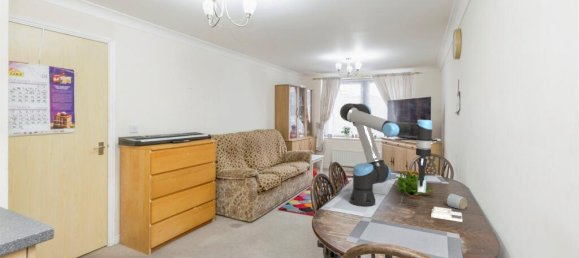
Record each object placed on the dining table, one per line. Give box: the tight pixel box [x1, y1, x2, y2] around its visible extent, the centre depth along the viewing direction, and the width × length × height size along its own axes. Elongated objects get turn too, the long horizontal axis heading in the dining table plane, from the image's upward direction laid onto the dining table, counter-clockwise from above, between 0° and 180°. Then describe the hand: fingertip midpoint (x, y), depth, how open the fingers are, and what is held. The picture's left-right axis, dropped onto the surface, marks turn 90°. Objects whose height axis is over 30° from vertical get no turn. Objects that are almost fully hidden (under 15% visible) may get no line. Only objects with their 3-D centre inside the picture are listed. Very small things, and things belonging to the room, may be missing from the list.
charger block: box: [417, 176, 428, 194], centre depth 159 cm, size 4×4×9 cm
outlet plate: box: [430, 206, 463, 223], centre depth 155 cm, size 14×12×3 cm
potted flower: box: [392, 169, 436, 199], centre depth 192 cm, size 25×24×18 cm
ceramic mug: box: [446, 193, 468, 211], centre depth 169 cm, size 11×8×8 cm
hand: (421, 190), depth 159 cm, fingers closed on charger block, 4 cm apart
